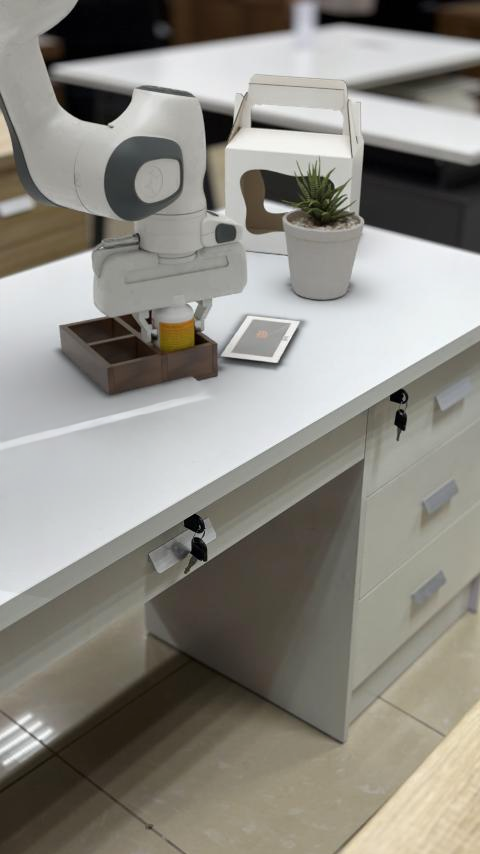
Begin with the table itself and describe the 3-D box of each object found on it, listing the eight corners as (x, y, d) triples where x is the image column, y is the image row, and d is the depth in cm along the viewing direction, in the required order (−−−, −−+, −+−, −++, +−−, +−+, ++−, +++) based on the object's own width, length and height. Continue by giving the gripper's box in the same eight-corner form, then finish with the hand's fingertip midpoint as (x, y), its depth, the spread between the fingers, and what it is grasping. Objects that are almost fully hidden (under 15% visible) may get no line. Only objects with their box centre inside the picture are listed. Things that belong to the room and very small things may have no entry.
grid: (109, 402, 117) (107, 368, 115) (62, 357, 128) (58, 325, 125) (218, 375, 124) (217, 343, 122) (164, 335, 135) (163, 304, 133)
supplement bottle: (203, 362, 125) (202, 291, 119) (171, 373, 121) (168, 301, 116) (177, 350, 128) (175, 280, 123) (145, 360, 124) (141, 289, 119)
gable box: (223, 249, 168) (222, 79, 153) (242, 228, 179) (243, 67, 164) (347, 261, 165) (358, 88, 150) (358, 239, 176) (370, 75, 160)
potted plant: (373, 284, 155) (384, 158, 145) (339, 311, 145) (347, 177, 134) (304, 270, 160) (310, 147, 149) (266, 295, 150) (269, 165, 139)
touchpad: (220, 363, 128) (220, 348, 127) (247, 322, 140) (248, 308, 139) (277, 370, 126) (277, 355, 125) (299, 328, 139) (300, 314, 138)
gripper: (101, 248, 108) (109, 360, 115) (254, 225, 118) (252, 329, 125) (79, 233, 112) (88, 342, 120) (228, 212, 122) (228, 314, 130)
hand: (173, 335), depth 123 cm, fingers closed on supplement bottle, 5 cm apart
